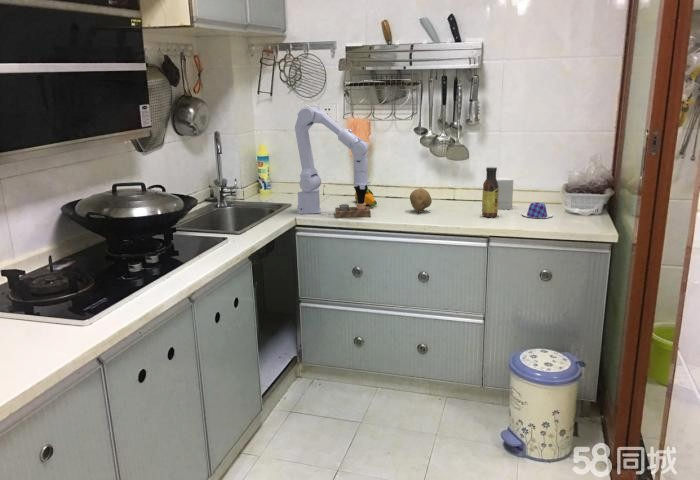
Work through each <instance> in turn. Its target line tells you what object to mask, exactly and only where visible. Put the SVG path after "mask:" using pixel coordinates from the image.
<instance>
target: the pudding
mask: <svg viewBox="0 0 700 480" xmlns="http://www.w3.org/2000/svg"><path fill="white" fill-rule="evenodd" d="M521 215H522V216H524V217H527V218H531V219H532V218H533V219H546V218H551V217H553V214H552V213H550V212H547V207H546V204H545V203H543V202H531V203H530V204H529V206H528V210H527V211H524V212H523V211H522V213H521Z"/></svg>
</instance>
